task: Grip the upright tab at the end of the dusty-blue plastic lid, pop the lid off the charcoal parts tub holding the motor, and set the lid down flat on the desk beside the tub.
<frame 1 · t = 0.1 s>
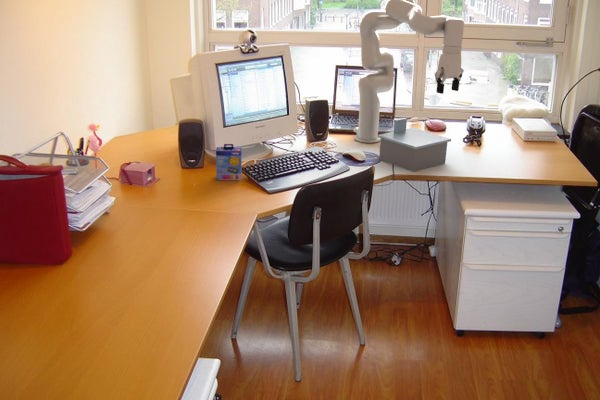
hand: (447, 91, 275), 31 cm above the table, tool pointing down, fingers open, 9 cm apart
ink cartridge box: (229, 178, 262), on the table
motor: (411, 162, 288), resting in tub
lid: (414, 139, 285), point 10 cm above the table, touching tub
tub: (412, 161, 288), on the table
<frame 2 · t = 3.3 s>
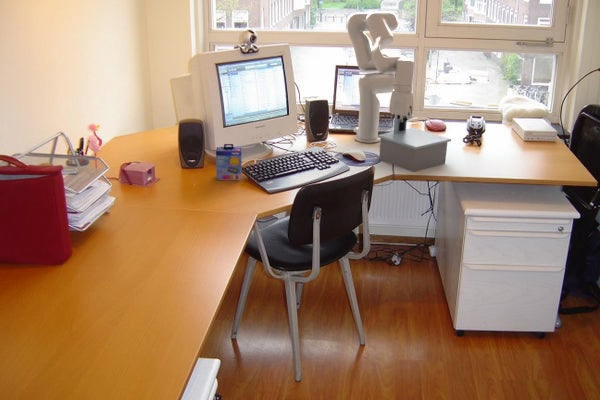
hand: (399, 130, 290), 12 cm above the table, tool pointing down, fingers closed on lid
lid: (414, 139, 285), point 10 cm above the table, touching gripper, tub
everything else where it was.
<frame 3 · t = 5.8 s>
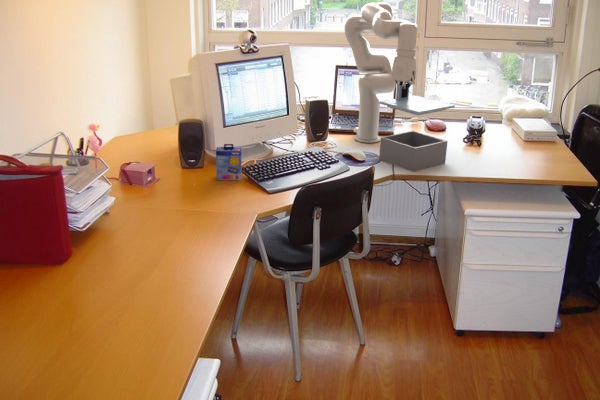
hand: (402, 96, 285), 27 cm above the table, tool pointing down, fingers closed on lid
lid: (416, 105, 280), point 25 cm above the table, touching gripper
everything else where it was.
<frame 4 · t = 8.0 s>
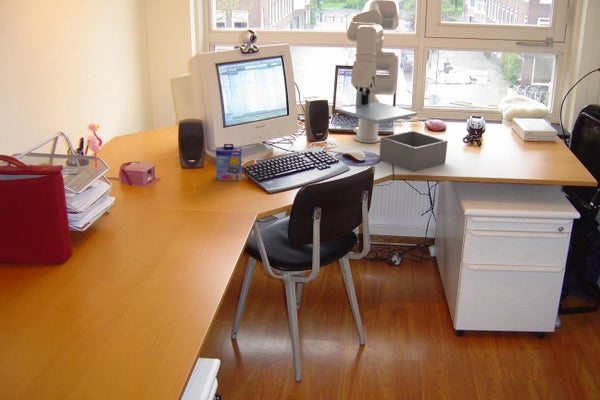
hand: (362, 103, 269), 27 cm above the table, tool pointing down, fingers closed on lid
lid: (377, 113, 264), point 25 cm above the table, touching gripper
everything else where it was.
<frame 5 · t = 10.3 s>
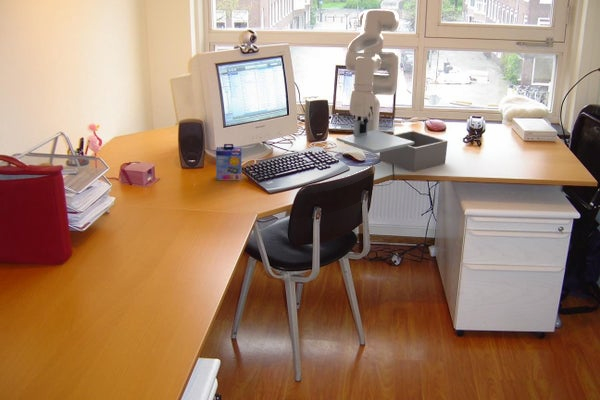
hand: (360, 132, 273), 15 cm above the table, tool pointing down, fingers closed on lid
lid: (375, 142, 267), point 13 cm above the table, touching gripper
everything else where it was.
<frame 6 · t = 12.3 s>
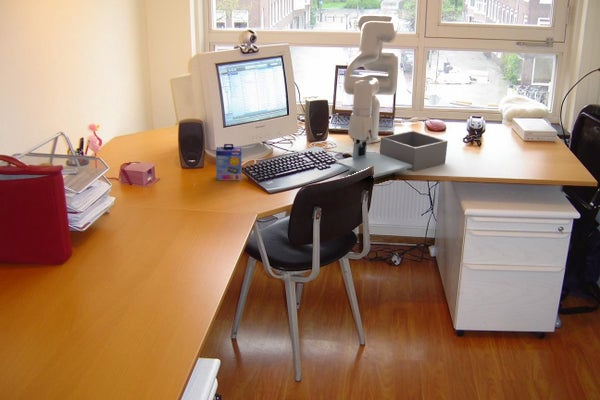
hand: (359, 154, 277), 6 cm above the table, tool pointing down, fingers closed on lid
lid: (373, 165, 271), point 3 cm above the table, touching gripper
everything else where it was.
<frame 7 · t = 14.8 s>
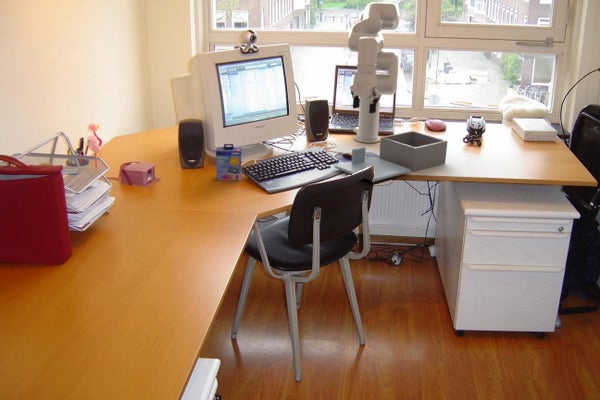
hand: (364, 110, 272), 24 cm above the table, tool pointing down, fingers open, 9 cm apart
lid: (372, 169, 272), point 1 cm above the table
everything else where it was.
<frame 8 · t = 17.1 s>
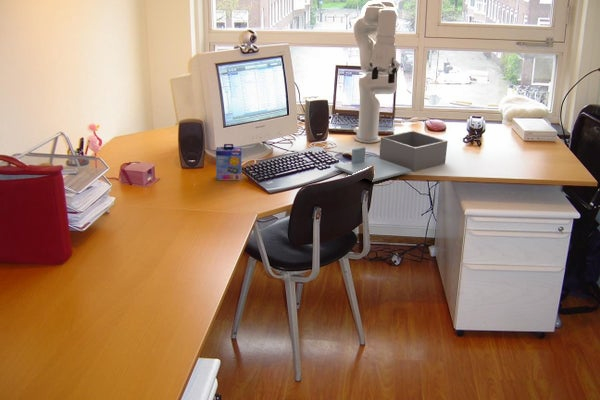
hand: (382, 81, 282), 33 cm above the table, tool pointing down, fingers open, 9 cm apart
nothing on the table moved.
at the end: lid inside the target area (1.1 cm from its centre), point 1.2 cm above the table; lid touching table; the gripper is holding nothing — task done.
